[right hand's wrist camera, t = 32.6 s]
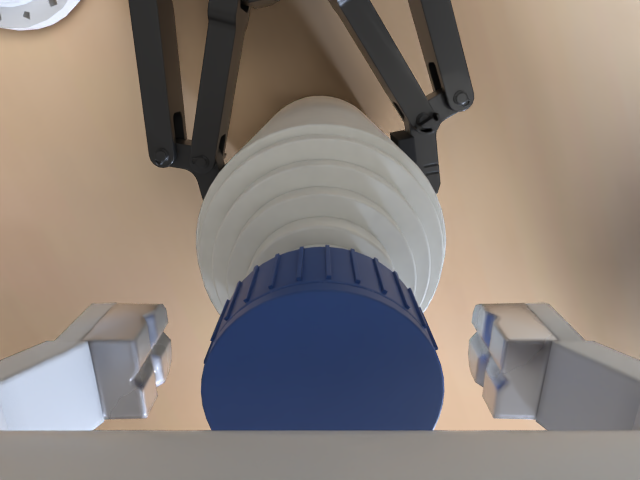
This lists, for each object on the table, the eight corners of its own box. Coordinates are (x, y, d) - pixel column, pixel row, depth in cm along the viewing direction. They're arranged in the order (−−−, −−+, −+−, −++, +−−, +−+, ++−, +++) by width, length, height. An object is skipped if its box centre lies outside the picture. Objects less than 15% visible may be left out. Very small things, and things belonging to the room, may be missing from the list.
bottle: (406, 140, 29) (620, 310, 9) (338, 240, 32) (375, 563, 11) (298, 69, 28) (238, 65, 7) (235, 180, 30) (52, 422, 9)
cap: (352, 201, 9) (362, 236, 7) (459, 360, 10) (491, 425, 8) (178, 313, 10) (144, 371, 8) (297, 446, 11) (293, 523, 9)
